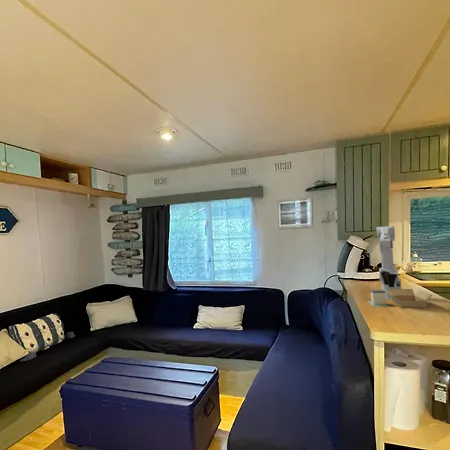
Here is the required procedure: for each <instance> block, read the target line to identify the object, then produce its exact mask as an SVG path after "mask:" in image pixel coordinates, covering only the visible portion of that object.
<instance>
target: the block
mask: <svg viewBox="0 0 450 450" xmlns="http://www.w3.org/2000/svg"><path fill="white" fill-rule="evenodd" d="M370 298H371V299H370V301H371V302H372V303H373V304H387V299H386V297H385V291H384V290H382V289H370Z"/></svg>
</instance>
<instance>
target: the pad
mask: <svg viewBox="0 0 450 450" xmlns="http://www.w3.org/2000/svg"><path fill="white" fill-rule="evenodd" d="M367 303H368V304H370V305H371V306H372V307H391V306H390V305H389V304H387V303H386V304H373V303H372V302H371V300H368V301H367Z"/></svg>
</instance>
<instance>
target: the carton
mask: <svg viewBox="0 0 450 450" xmlns="http://www.w3.org/2000/svg"><path fill="white" fill-rule="evenodd" d="M384 291H385V290H384ZM386 292H387V291H386ZM414 292H415V291H414V290H413V288H401V289H389V292H387V293H388V294H389V295H390V296H391V299H390V302H391V303H393V304H394V305H396V306H398V307H399V308H428V303H427V302H428V301H429V300H430V298H431V297H433V294H432V293H428V292H426V291H423V290H421V289H418V291H417V292H416V293H414Z"/></svg>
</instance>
